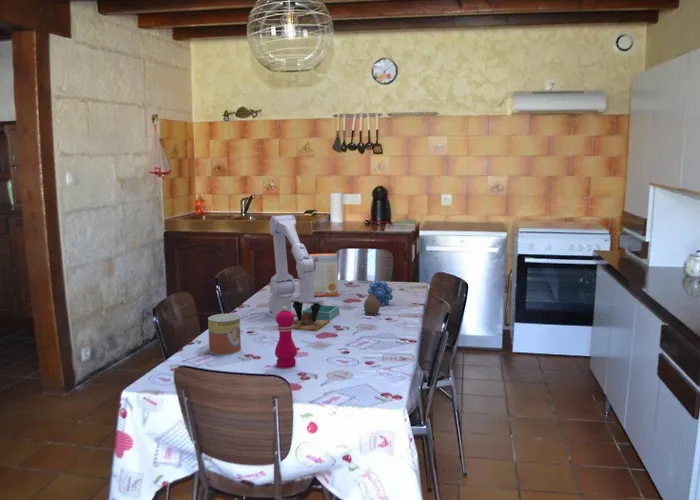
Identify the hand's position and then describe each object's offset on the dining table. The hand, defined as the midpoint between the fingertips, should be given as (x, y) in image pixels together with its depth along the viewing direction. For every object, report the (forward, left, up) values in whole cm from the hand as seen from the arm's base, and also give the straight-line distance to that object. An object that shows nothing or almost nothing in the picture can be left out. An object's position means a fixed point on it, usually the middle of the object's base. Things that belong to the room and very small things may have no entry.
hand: (307, 320), depth 249 cm
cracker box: (-15, +55, -3) cm, 57 cm away
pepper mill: (+12, -45, -3) cm, 47 cm away
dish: (0, +15, -2) cm, 15 cm away
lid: (0, 0, -2) cm, 2 cm away
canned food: (-16, -37, -3) cm, 40 cm away
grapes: (+18, +43, -3) cm, 47 cm away
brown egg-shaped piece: (+19, +27, -3) cm, 33 cm away
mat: (0, 0, -2) cm, 2 cm away
